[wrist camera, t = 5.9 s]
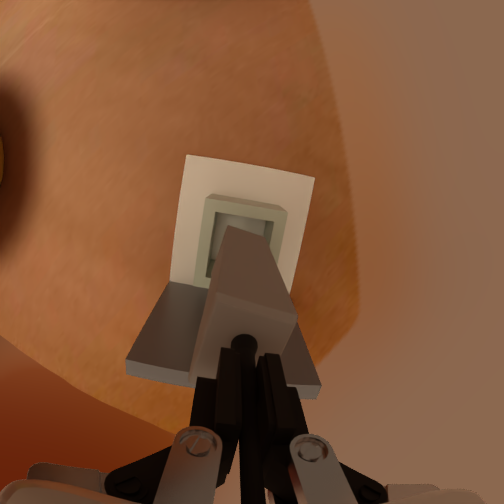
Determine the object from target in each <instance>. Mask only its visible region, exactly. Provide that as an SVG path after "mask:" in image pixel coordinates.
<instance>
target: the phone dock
mask: <svg viewBox="0 0 504 504" xmlns="http://www.w3.org/2000/svg"><path fill="white" fill-rule="evenodd" d="M314 181H315V177H310V176H306V175H301V174H297V173H292V172H287V171H282V170H277V169H272V168H267V167H262V166H256V165H251V164H245V163H239V162H233V161H227V160H221V159H215V158H208V157H201V156H194V155H186V161H185V167H184V173H183V179H182V185H181V192H180V198H179V205H178V212H177V220H176V227H175V235H174V243H173V252H172V261H171V271H170V281H169V283H168V285H167V286H166V288H165V290H164V291H163V293H162V295H161V297H160V298H159V300H158V302H157V303H156V305H155V307H154V309H153V310H152V312H151V314H150V316H149V317H148V319H147V321H146V323H145V325H144V326H143V328H142V330H141V332H140V334H139V335H138V337H137V339H136V341H135V343H134V344H133V346H132V348H131V350H130V352H129V354H128V356H127V357H126V374H128V375H132V376H136V377H140V378H145V379H149V380H154V381H159V382H163V383H169V384H174V385H179V386H185V387H191V388H195V387H196V385H193V384H190V383H189V380H188V375H189V371H190V366H191V362H192V357H193V353H194V348H195V344H196V339H197V335H198V331H199V327H200V323H201V319H202V315H203V312H204V307H205V303H206V298H207V294H208V289H209V285H210V281H211V273H212V270H213V266H214V263H215V260H216V257H217V254H218V251H219V248H220V245H221V243H222V240H223V237H224V234H225V231H226V228H227V225H230V226H233V227H236V228H239V229H242V230H245V231H248V232H251V233H254V234H257V235H260V236H263V237H265V238H266V241H267V243H268V246H269V248H270V250H271V253H272V255H273V257H274V260H275V262H276V264H277V267H278V269H279V272H280V274H281V276H282V279H283V281H284V283H285V286H286V288H287V291H288V293H289V295H290V291H291V287H292V282H293V278H294V274H295V270H296V265H297V261H298V256H299V252H300V248H301V243H302V239H303V234H304V229H305V225H306V220H307V215H308V210H309V206H310V201H311V196H312V191H313V186H314ZM280 358H281V363H282V367H283V371H284V376H285V380H286V384H287V386H289V387H296V388H297V391H298V395H299V398H300V399H316V398H317V396H318V394H319V391H320V388H321V386H322V385H321V383H320V380H319V378H318V375H317V372H316V369H315V367H314V364H313V362H312V359H311V356H310V354H309V351H308V349H307V346H306V344H305V341H304V338H303V336H302V333H301V331H300V328H299V326H298V323H297V322H296V325H295V327H294V329H293V331H292V333H291V335H290V338H289V340H288V342H287V344H286V346H285V348H284V350H283V352H282V354H281V356H280Z"/></svg>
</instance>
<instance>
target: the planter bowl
mask: <svg viewBox="0 0 504 504" xmlns="http://www.w3.org/2000/svg"><path fill="white" fill-rule="evenodd" d="M3 169H4V151H3V143H2V139H1V135H0V186H1V182H2V176H3Z"/></svg>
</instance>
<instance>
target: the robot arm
mask: <svg viewBox="0 0 504 504" xmlns="http://www.w3.org/2000/svg"><path fill="white" fill-rule="evenodd" d="M256 374H257V384H258V402H257V416H258V427H259V438H260V448H261V458H262V469H263V479H264V487H265V488H266V489H268V499H269V503H270V504H487V503H486V502H485V501H484V500H483V498H482V497H480V496H479V495H478V494H477V493H476V492H473V491H471V490H465V489H442V490H440V489H439V488H438V487H436V486H434V485H431V484H411V485H409V484H405V485H404V484H387V485H386V486H382V485H381V484H380V483H378V482H377V481H375V480H372V479H370V478H369V477H367V476H365V475H363V474H361V473H359V472H357V471H355V470H353V469H351V468H349V467H348V466H346V465H344V464H342V463H340V462H339V461H338V459H337V457H336V455H335V453H334V451H333V449H332V447H331V445H330V444H329V442H328V441H326V440H325V439H324V438H322V437H320V436H318V435H314V434H309V432H308V428H307V425H306V421H305V417H304V413H303V410H302V406H301V402H300V398H299V395H298V391H297V388H296V387H289V386H287V384H286V380H285V376H284V371H283V367H282V363H281V358H280V355H279V354H274V353H265V354H264V356H259V358H258V362H257V366H256ZM241 428H242V397H241V367H240V353H235V349H232V348H224V347H221V349H220V355H219V362H218V368H217V374H216V379H212V378H205V377H198V376H197V381H196V387H195V393H194V399H193V406H192V412H191V419H190V425H189V427H186V428H183V429H182V430H180V431H179V432H178V433H177V434H176V436H175V439H174V441H173V444H172V446H170V447H167V448H165V449H163V450H161V451H159V452H157V453H154V454H152V455H150V456H147V457H145V458H143V459H140V460H138V461H136V462H133V463H131V464H128V465H126V466H123V467H120V468H118V469H116V470H114V471H112V472H110V473H101V472H99V470H95V469H85V468H77V467H69V466H63V465H57V464H51V463H37V464H34V465H33V466H32V467H30V468H29V471H28V474H27V480H18V481H15V482H12V483H10V484H8V485H7V486H6V487H5V488H4V489H3V490H2V491H1V492H0V504H213V501H214V495H215V489H216V488H217V487H219V486H220V485H222V484H224V482H225V479H226V475H227V474H229V472H230V469H231V465H232V462H233V458H234V455H235V451H236V447H237V443H238V440H239V436H240V433H241Z"/></svg>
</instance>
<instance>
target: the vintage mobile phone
mask: <svg viewBox="0 0 504 504" xmlns="http://www.w3.org/2000/svg"><path fill="white" fill-rule="evenodd" d="M297 319H298V315H297V312H296V310H295V307H294V305H293V303H292V300H291V298H290V295H289V293H288V291H287V288H286V286H285V283H284V281H283V279H282V276H281V274H280V272H279V269H278V267H277V264H276V262H275V260H274V257H273V255H272V253H271V250H270V248H269V246H268V243H267V241H266V238H265V237H263V236H260V235H257V234H254V233H251V232H248V231H245V230H242V229H239V228H236V227H233V226H230V225H227V228H226V231H225V234H224V237H223V240H222V243H221V245H220V248H219V251H218V254H217V257H216V260H215V263H214V266H213V270H212V273H211V281H210V285H209V289H208V294H207V298H206V303H205V307H204V312H203V315H202V319H201V323H200V327H199V331H198V335H197V339H196V344H195V348H194V353H193V357H192V362H191V366H190V371H189V375H188V380H189V383H190V384H193V385H196V381H197V376H198V377H205V378H212V379H216V374H217V368H218V362H219V355H220V349H221V347H224V348H232V349H235V353H240V367H241V397H242V428H241V433H240V436H239V455H240V488H241V504H266V499H265V489H264V479H263V469H262V458H261V448H260V438H259V427H258V416H257V402H258V384H257V374H256V366H257V362H258V358H259V356H264V354H265V353H274V354H279V355H280V356H281V354H282V352H283V350H284V348H285V346H286V344H287V342H288V340H289V338H290V335H291V333H292V331H293V329H294V327H295V325H296V322H297Z"/></svg>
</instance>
